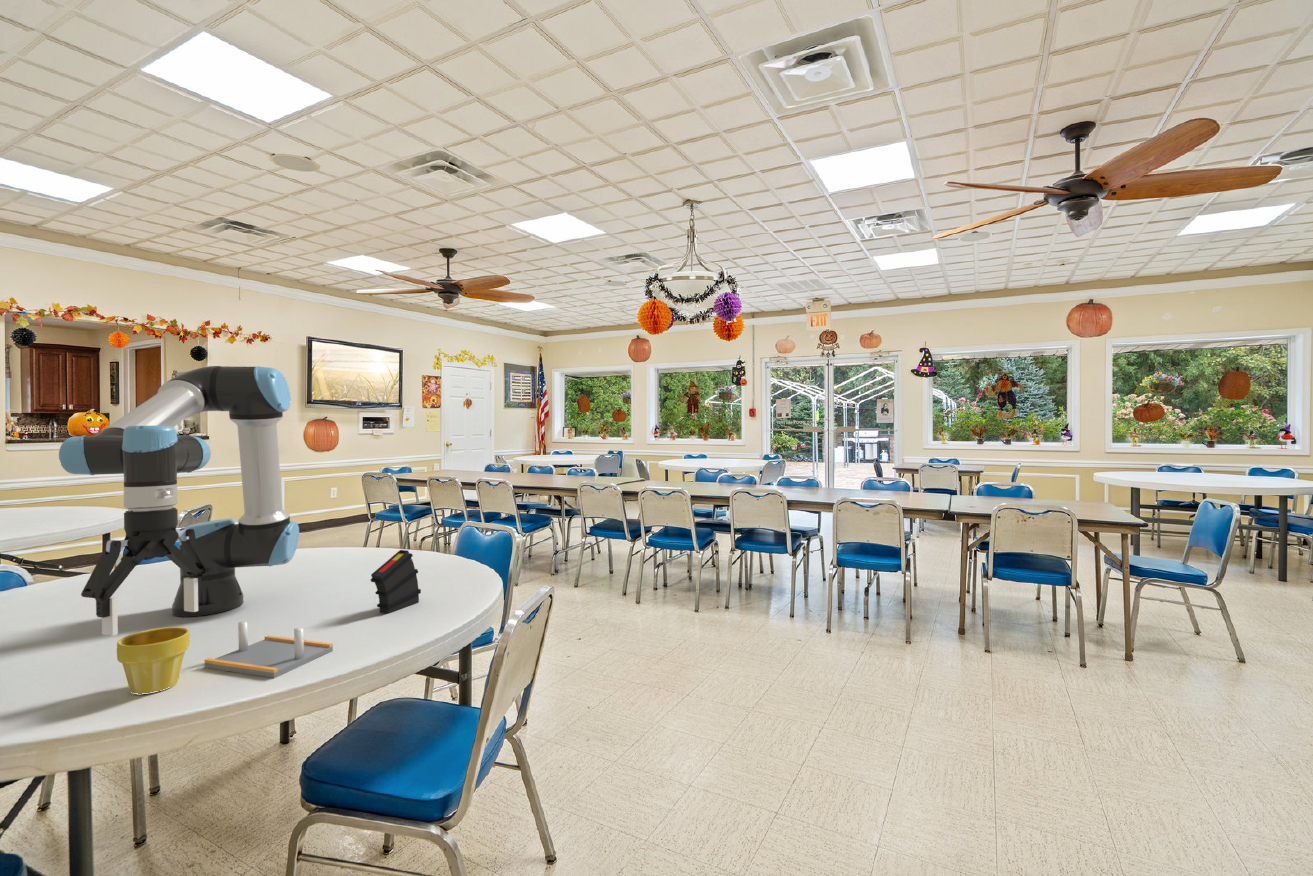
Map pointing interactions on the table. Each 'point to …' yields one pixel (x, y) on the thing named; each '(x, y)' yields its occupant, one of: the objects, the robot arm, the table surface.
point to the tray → (269, 654)
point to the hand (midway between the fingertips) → (153, 622)
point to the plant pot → (153, 658)
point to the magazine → (396, 583)
